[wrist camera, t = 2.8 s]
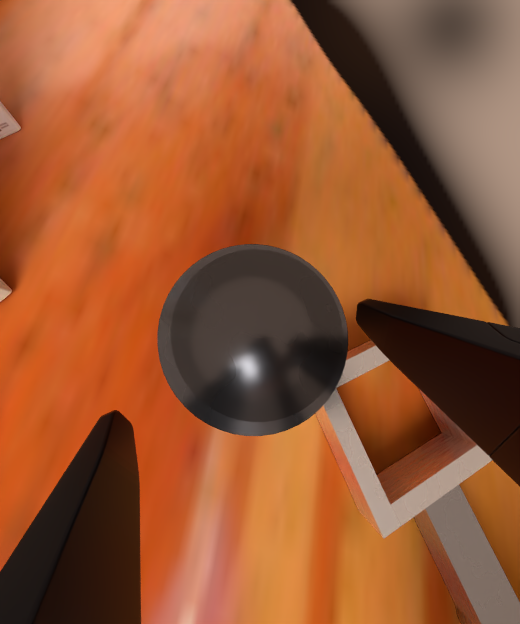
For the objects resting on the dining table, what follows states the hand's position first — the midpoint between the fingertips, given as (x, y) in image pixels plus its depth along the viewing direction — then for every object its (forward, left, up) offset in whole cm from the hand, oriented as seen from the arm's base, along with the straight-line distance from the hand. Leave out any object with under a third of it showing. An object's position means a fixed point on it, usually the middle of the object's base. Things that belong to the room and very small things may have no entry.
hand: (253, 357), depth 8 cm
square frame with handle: (-12, -8, -8) cm, 17 cm away
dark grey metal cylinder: (+1, 0, -8) cm, 8 cm away
